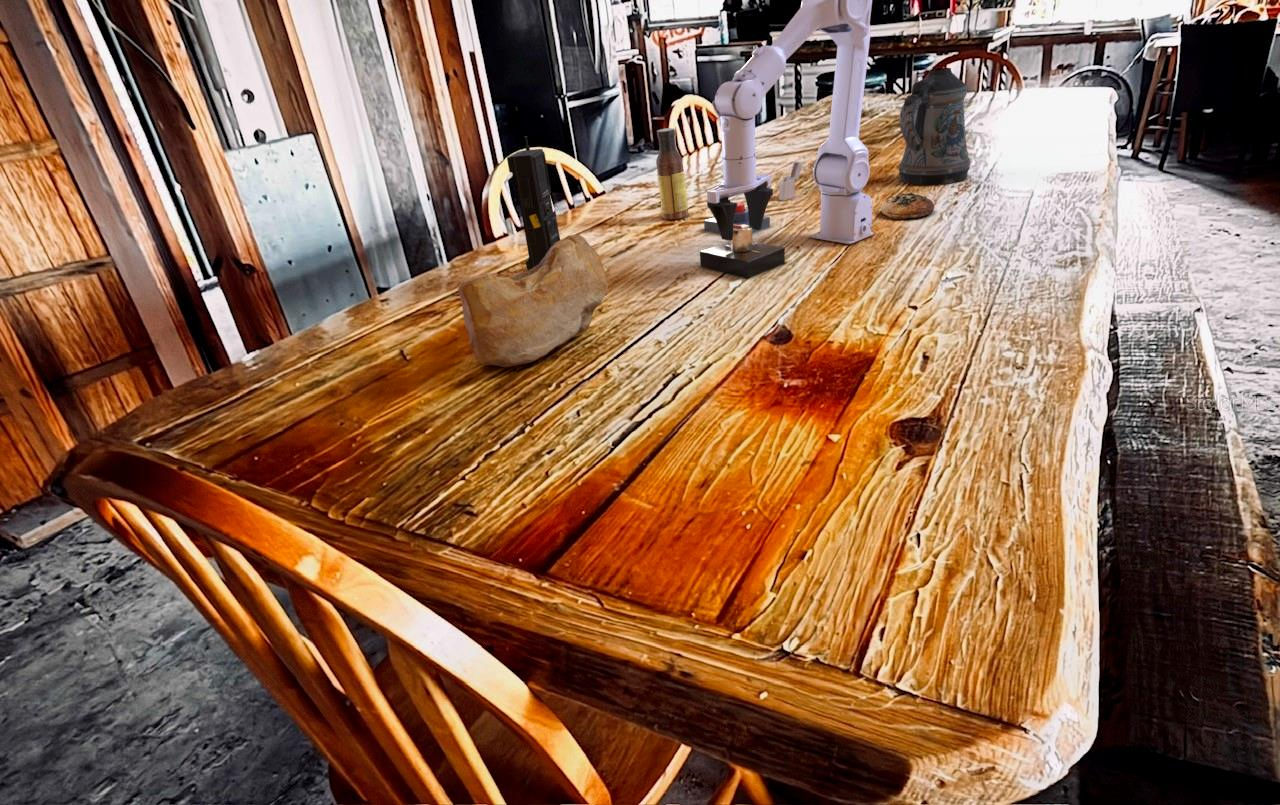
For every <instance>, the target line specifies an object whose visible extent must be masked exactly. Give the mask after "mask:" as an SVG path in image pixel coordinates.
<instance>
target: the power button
mask: <svg viewBox="0 0 1280 805" xmlns="http://www.w3.org/2000/svg"><path fill="white" fill-rule="evenodd" d="M734 203H737V207H736V210H735V213H740V212H744V211H745V207H746V205H745V202H741V201H734Z"/></svg>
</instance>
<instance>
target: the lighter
mask: <svg viewBox="0 0 1280 805" xmlns="http://www.w3.org/2000/svg"><path fill="white" fill-rule="evenodd" d="M791 167H792V168H791V171H790V174H789V175H784V176H783V177H782V180H780V181H778V201H782V202H783V201H787V200H790V199H794V198H795V181H799V178H800V175H801V172H802V168H803V163H802V162H800V161H794V162H793V164H792V166H791Z"/></svg>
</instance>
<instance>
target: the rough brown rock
mask: <svg viewBox="0 0 1280 805" xmlns="http://www.w3.org/2000/svg"><path fill="white" fill-rule="evenodd" d="M457 291H458V294H459V298H460V302H461V307H462V316H463V322H464V327H465V330H466V332H467V336H468V339H469V344H470V345H471V348H472V351H473V355H474V357H475V359H476V360H477V361H478V362H479V363H480V364H481V365H483V366H497V367H503V368H511V367H515V366H518V365H524V364H530V363H533V362H535V361H537V360H539V359H541V358H542V357H545V356H546V355H548V353H550V352H551V351H553V350H554V349H555V348H557V347H559V346H561V345H563V344H565V343H567V342H568V341H569V340H570V339H572V338H575V337H579V336H582V335H583V334H585V333H586V332H587V331H588V330H589V328H590V326H591V323H592V320H593V316H594V312H595V310H596V309H597V308H598V307H599V306H600V305H602V303H603V301H604V299H605V297H606V296H607V295H608V291H609V283H608V281H607V274H606V271H605V268H604V266H603V263H602V260H601V256H600V255H599V253H598V252H597V250H596V249H595V248H594V247H593V246H592V245H590V244H589V242H588V241H587V239H586V238H585V237H584V236H582V235H580V234H569V235H567V236H565V237H563V238H562V239H561V238H560V241H558V242H556V243H555V244H554V245H553V246H552V247H551V248H550V249H549V251H548V252H547V254H546V255H545V257H544V258H543V259H542V260H541V262H540V263H539V264H538V265H537V266H535V267H534V268H532V269H530V270H528V271H527V270H526V271H522V272H519V273H515V274H513V275H512V276H509V277H502V276H499V275H495V274H493V273H485V274H480V275H475V276H472V277H468V278H466V279H464V280H462V281H461V282H460V283H459V285H458V288H457Z"/></svg>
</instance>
